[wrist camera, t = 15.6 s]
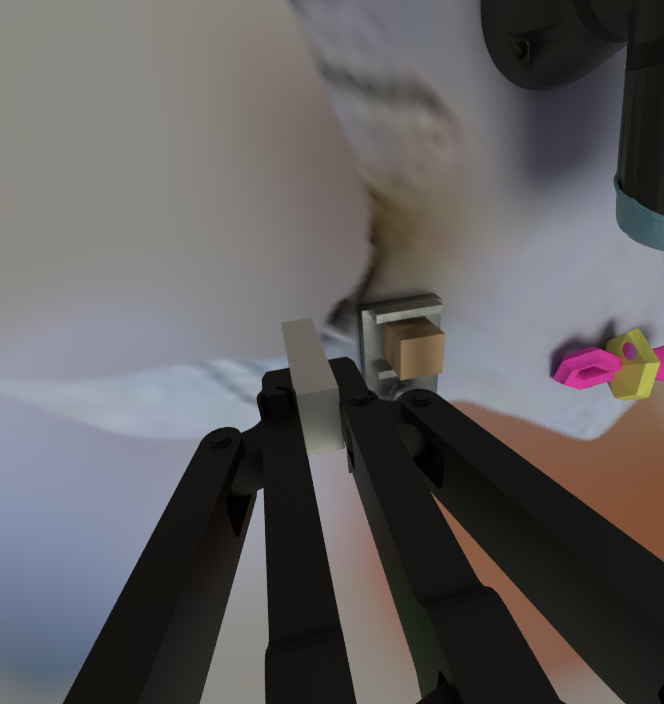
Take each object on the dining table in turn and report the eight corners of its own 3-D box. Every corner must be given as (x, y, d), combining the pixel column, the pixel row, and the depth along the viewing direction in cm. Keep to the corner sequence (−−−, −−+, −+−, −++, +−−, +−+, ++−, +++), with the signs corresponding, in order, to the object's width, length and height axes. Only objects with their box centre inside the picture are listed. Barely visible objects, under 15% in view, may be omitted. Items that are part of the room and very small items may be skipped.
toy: (556, 321, 53) (584, 382, 46) (698, 309, 50) (747, 372, 44) (537, 361, 61) (559, 417, 54) (658, 353, 58) (695, 411, 52)
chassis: (434, 291, 46) (451, 303, 42) (430, 397, 53) (444, 415, 49) (357, 303, 44) (367, 316, 41) (364, 410, 52) (373, 430, 48)
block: (422, 314, 45) (444, 333, 39) (420, 350, 47) (442, 372, 42) (383, 320, 44) (400, 340, 39) (383, 356, 46) (400, 380, 41)
